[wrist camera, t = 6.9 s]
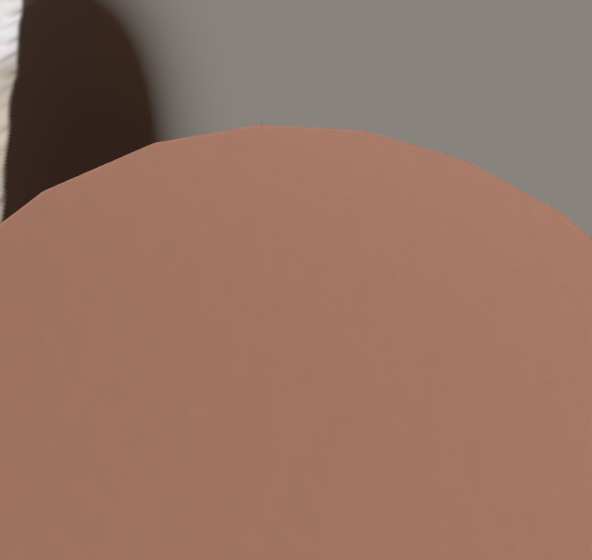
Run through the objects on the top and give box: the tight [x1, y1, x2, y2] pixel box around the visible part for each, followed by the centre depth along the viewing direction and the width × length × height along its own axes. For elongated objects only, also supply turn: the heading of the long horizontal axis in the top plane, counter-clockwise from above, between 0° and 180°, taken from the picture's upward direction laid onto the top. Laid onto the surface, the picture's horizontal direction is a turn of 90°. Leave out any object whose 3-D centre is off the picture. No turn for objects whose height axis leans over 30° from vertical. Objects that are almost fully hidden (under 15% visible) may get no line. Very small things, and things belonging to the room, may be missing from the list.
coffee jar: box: [0, 125, 592, 560], centre depth 13 cm, size 11×11×18 cm
